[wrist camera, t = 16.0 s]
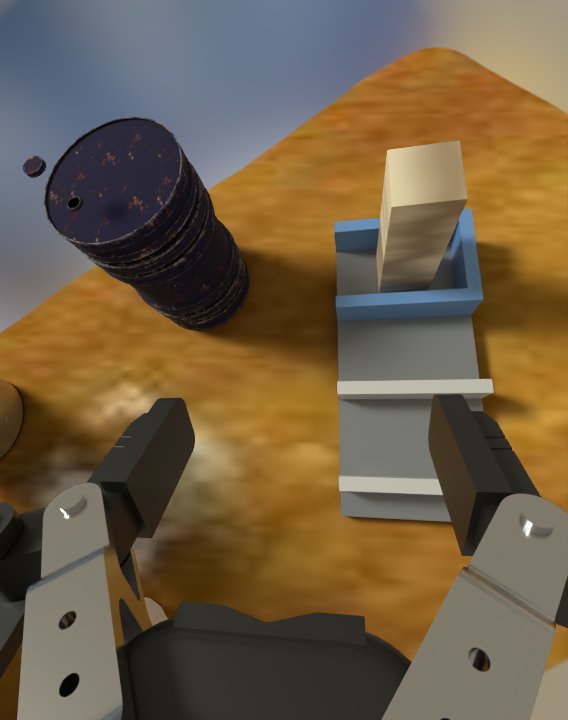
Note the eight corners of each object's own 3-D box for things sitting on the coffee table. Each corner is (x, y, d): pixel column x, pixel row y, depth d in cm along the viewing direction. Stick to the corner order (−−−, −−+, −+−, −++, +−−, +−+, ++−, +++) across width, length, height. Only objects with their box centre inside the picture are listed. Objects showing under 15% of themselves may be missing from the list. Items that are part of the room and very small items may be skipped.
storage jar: (222, 227, 38) (116, 40, 21) (269, 294, 35) (188, 136, 18) (145, 279, 38) (-22, 134, 21) (185, 350, 35) (26, 247, 18)
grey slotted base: (341, 513, 28) (339, 522, 24) (336, 231, 35) (334, 202, 31) (491, 521, 26) (515, 532, 22) (454, 220, 33) (468, 188, 29)
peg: (378, 298, 31) (391, 207, 20) (376, 258, 33) (387, 150, 21) (426, 295, 31) (467, 198, 19) (422, 254, 32) (459, 140, 20)
